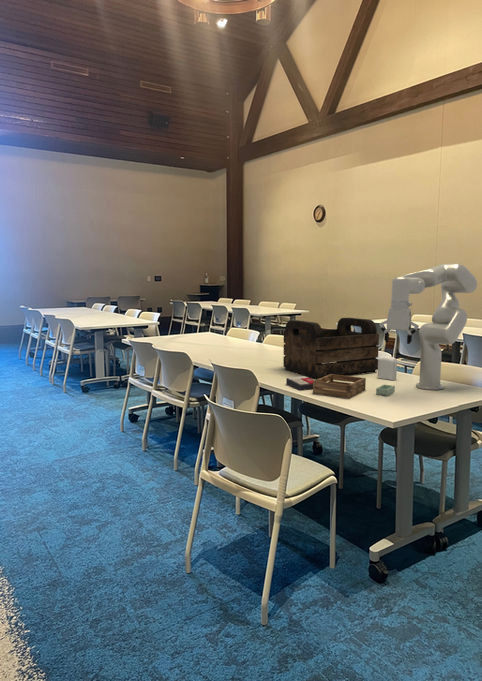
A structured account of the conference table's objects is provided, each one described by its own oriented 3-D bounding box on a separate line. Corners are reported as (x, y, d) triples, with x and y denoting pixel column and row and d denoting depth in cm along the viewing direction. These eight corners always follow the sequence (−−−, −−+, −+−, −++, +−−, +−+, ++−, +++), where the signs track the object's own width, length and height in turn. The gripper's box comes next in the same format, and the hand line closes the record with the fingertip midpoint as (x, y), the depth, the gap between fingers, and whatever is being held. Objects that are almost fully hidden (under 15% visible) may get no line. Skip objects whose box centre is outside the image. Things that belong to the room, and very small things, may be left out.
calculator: (300, 384, 229) (286, 376, 243) (299, 392, 230) (285, 384, 244) (320, 382, 233) (305, 375, 247) (319, 390, 234) (304, 383, 248)
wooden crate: (317, 380, 254) (318, 324, 250) (283, 369, 284) (283, 319, 281) (377, 372, 273) (379, 320, 269) (339, 363, 303) (340, 316, 299)
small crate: (383, 390, 229) (383, 384, 228) (394, 392, 226) (394, 385, 225) (376, 394, 220) (376, 388, 220) (387, 396, 217) (387, 389, 217)
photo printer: (376, 378, 258) (376, 355, 257) (380, 376, 261) (381, 354, 259) (393, 381, 250) (393, 357, 249) (397, 379, 253) (398, 356, 251)
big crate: (330, 385, 240) (330, 374, 239) (365, 390, 230) (365, 378, 229) (312, 393, 223) (312, 381, 223) (349, 398, 213) (349, 385, 212)
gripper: (421, 305, 213) (419, 343, 215) (383, 304, 222) (381, 340, 224) (417, 305, 207) (415, 345, 209) (378, 304, 216) (376, 342, 218)
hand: (397, 342), depth 216 cm, fingers open, 9 cm apart
